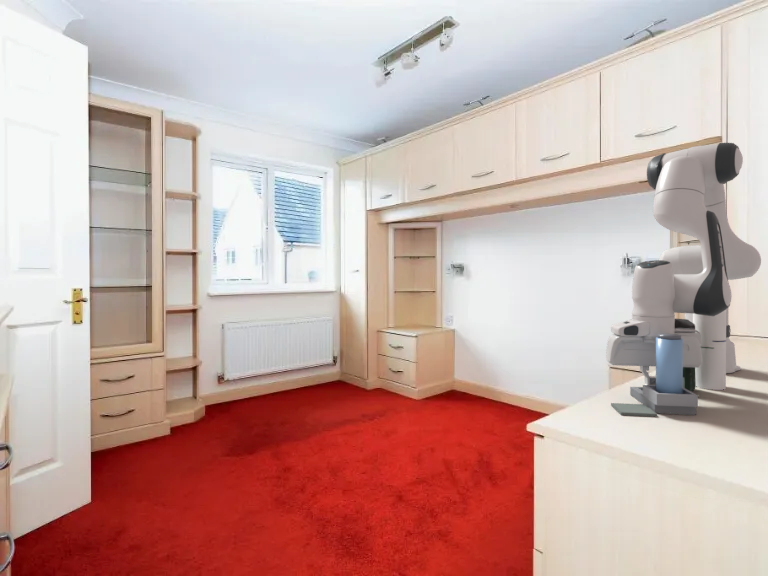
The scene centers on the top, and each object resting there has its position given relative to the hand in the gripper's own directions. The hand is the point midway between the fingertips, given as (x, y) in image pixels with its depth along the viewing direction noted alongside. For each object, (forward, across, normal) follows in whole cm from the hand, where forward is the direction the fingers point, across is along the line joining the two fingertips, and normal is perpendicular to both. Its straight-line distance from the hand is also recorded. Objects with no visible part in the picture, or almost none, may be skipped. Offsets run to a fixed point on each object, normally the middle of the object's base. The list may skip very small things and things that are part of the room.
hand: (652, 384), depth 106 cm
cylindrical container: (+4, -19, -15) cm, 24 cm away
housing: (+4, 0, +4) cm, 6 cm away
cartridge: (+2, 0, +9) cm, 9 cm away
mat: (+4, +8, +11) cm, 14 cm away
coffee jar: (+4, -9, -10) cm, 14 cm away
